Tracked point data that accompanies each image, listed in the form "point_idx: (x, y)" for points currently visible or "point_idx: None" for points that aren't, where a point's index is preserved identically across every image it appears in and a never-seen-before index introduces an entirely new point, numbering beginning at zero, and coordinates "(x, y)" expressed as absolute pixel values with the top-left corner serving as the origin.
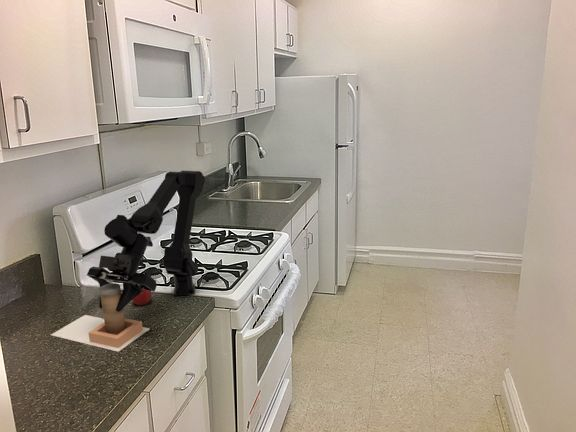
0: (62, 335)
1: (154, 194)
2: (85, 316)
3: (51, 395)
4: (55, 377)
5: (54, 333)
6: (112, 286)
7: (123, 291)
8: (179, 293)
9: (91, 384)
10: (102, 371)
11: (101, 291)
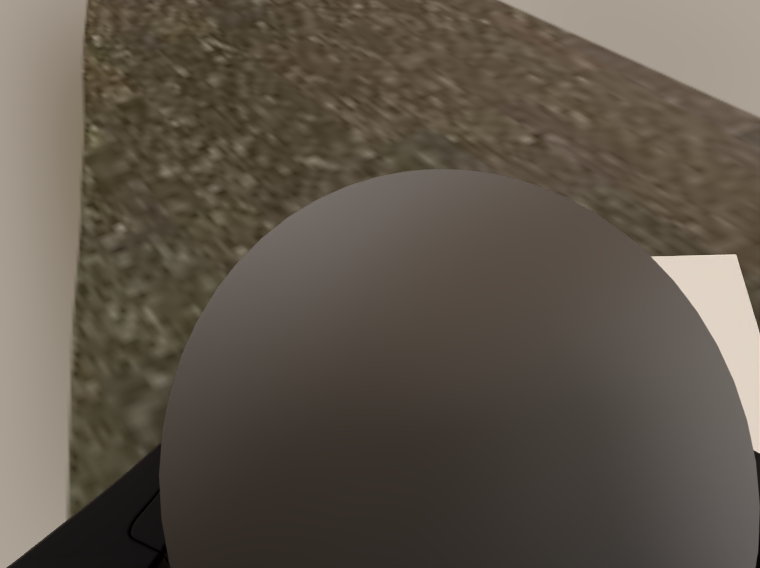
0: (674, 274)
1: None
2: None
3: (332, 12)
4: (409, 76)
5: (733, 272)
6: (427, 515)
7: (140, 538)
8: None
9: (244, 93)
10: (263, 162)
11: (475, 177)
